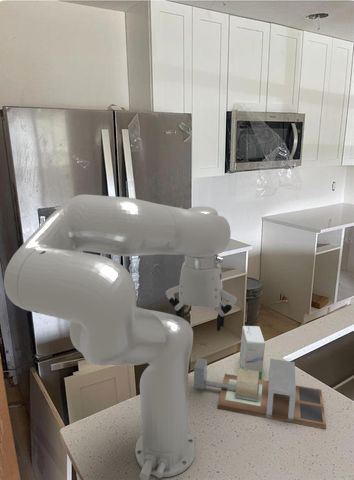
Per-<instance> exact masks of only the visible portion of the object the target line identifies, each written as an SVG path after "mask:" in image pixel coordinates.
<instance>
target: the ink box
mask: <svg viewBox="0 0 354 480" xmlns="http://www.w3.org/2000/svg"><path fill="white" fill-rule="evenodd" d="M241 328H242V330H241V339H240V348H239V349H240V350H239V363H240V368H242V369H248V370H254V371H259V379H260V380H262V376H263V366H264V359H265V358H264V357H265V347H266V342H265V339H264V336H263V333H262V330H261V328H260V326H259V325H258V326H257V325H243V326H242V327H241Z"/></svg>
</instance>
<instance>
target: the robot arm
mask: <svg viewBox="0 0 354 480" xmlns="http://www.w3.org/2000/svg"><path fill="white" fill-rule="evenodd" d="M230 240H231V226H230V224H229V221H228V220H227V219H226V217H224V216H222V215H219V213H218V210H216V209H215V208H213V207H210V206H192V207H190V208H188V209H185V208H183V207H175V206H171V205H165V204H161V203H155V202H151V201H146V200H143V199H139V198H133V197H127V196H126V197H125V196H112V195H111V196H110V195H97V194H86V193H85V194H78V195H75V196H73V197H71V198H69V199H68V200H67V201H65V202H63V203H62V204H61V205H60V206H59V207H57V209H55V210H54V211H53V213H51V214H50V215H49V216H48V217H47V218H46V219H45V220H44V221H43V222H42V224H40V226H38V228H36V230H35V231H34V232H33V233H32V234H31V235H29V237H28V238H27V239H26V241H25V242H24V243H22V244H21V246H20V247H19V248H18V249H17V250H16V251H15V253H14V254H13V255H12V257H11V259H10V260H9V263H8V264H7V266H6V269H5V271H4V278H3V286H4V291H5V294H6V296H7V298H8V299H9V300H10V302H12V304H14V305H15V306H17V308H18V307H19V308H21V309H22V310H24V311H25V310H26V311H28V312H32V313H35V314H36V313H37V314H40V315H44V316H49V317H53V318H57V319H60V320H65V321H68V322H70V325H69V338H70V340H71V343H72V346H73V347H74V348H75V349H76V350H77V351H78V352H79V353H81V354H82V356H83V358H84V359H85V361H86V362H88V363H89V364H90V365H93V366H100V367H103V366H106V367H107V366H118V367H119V366H139V365H140V366H141V365H145V364H149V365H148V366H147V367H146V368H145V369H144V371H143V372H142V374H141V376H140V380H139V395H140V397H139V398H140V399H139V400H140V416H141V417H140V419H141V434H140V435H139V437H138V439H137V440H136V443H135V450H134V452H135V459H136V462H137V463H138V465H139V467H140V468H141V471H140V473H139V475H138V476H139V479H140V480H149V479H150V476H151V475H152V476H154V477H157V478H158V479H161V478H169V477H170V478H171V477H174V476H177V475H179V474H181V473H183V472H184V471H186V470H187V469H188V468H189V467H190V466H191V465H192V463H193V462H194V460H195V456H196V442H195V440H194V438H193V436H192V434H191V433H190V432H189V366H190V359H191V355H192V354H191V353H192V348H193V341H194V329H193V327H192V326H191V325H192V324H190V323H189V321H187V320H186V319H185V306H191V307H198V308H205V309H207V308H208V309H214V310H215V311H216V313H218V314H217V318H216V320H217V321H216V331H217V332H221V329H222V327H223V328H224V326H225V315H226V314H227V313H230V311H231V310H232V309H233V308H234V306H235V305H236V302H237V301H238V298H237V296H235V295H233V294H231V293H229V292H228V291H227V290H225V289H223V288H224V286H223V274H222V267H221V264H223V263H224V257H223V256H220V255H219V254H221V253H223V252H224V251H225V250H226V249H227V247H228V246H229V243H230ZM81 251H84V252H81ZM88 252H92V253H88ZM93 253H97V254H93ZM98 253H99V254H98ZM100 254H105V255H113V256H119V257H139V256H153V255H171V256H172V255H174V256H176V255H179V256H180V255H181V256H183V255H184V262H183V263H182V266H181V269H180V276H179V282H178V283H179V285H176V286H173V287H170V288H169V289H166V291H165V295H166V297H167V299H168V302H169V303H170V304H171V306H172V307H173V308H174V310H175V311H176V312H175V314H172V313H167V312H162V311H157V310H152V309H151V310H150V309H145V308H142V307H138V306H137V290H136V285H135V282H134V281H135V280H134V279H133V277H132V275H131V273H130V272H129V271H128V270H127V269H126V268H125V266H123V265H122V264H120V263H119V262H117V261H116V260H113V259H112V258H109V257H106V256H104V255H103V256H102V255H100ZM176 293H178V298H176V296H175V294H176ZM223 299H225V300H227V301H228V303H227V304H225V305H224V304H223V303H222V301H223ZM184 305H185V306H184Z"/></svg>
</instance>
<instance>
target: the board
mask: <svg viewBox="0 0 354 480" xmlns="http://www.w3.org/2000/svg"><path fill="white" fill-rule="evenodd" d="M237 376H238V375H235V374H228V373H224V377H223V380H222V383H223V384H228V385H234V386H236V384H237ZM258 383H259V392H258V402H257V401H252V400H246V399H241V398H235V392H236V391H233V390H227V389H222V388H220V394H219V397H218V401H217V410H224V411H228V412H234V413H239V414H245V415H249V416H256V417H260V418H263V419H264V418H266V414H267V400H268V387H269V384H268V383H269V380H265V379H261V380H260V379H258ZM289 398H290V396H288V395H282V394H276V393H274V394H273V406H272V415H271V414H269V416H271V417H272V418H271V417H270V418H271V419H270V418H269V419H270V420H275V421H282V422H287V423H290V422H289V421H288V419H289V418H288V408H289ZM267 417H268V416H267ZM266 419H267V418H266ZM290 419H292V418H290ZM292 424H297V425H302V426H308V427H313V428H317V429H322V430H326V429H327V422H326V415H325V406H324V399H323V392H322V389H320V388H313V387H308V386H307V387H306V386H303V385H302V386H300V385H296V398H295V408H294V418H293V421H292Z"/></svg>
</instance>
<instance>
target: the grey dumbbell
mask: <svg viewBox="0 0 354 480" xmlns="http://www.w3.org/2000/svg"><path fill="white" fill-rule="evenodd" d="M207 370H208V359H207V358H206V359H205V358H199V357H197V358H196V361H195V364H194V366H193V388H195V389H202V390H204V389H205V386H206V387H211V388H217V389H221V388H222V389H227V390H233V391H236V392H235V398H241V399H246V400H252V401H257V402H258V392H259V383H258V379H259V371H254V370H248V369H242V368H241V367H239V368H238V372H237V375H236V376H237V384H236V386H234V385H228V384H223V382H222V383H221V382H215V381H210V380H207V378H208V377H207V376H208V375H207V374H208V371H207Z"/></svg>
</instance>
